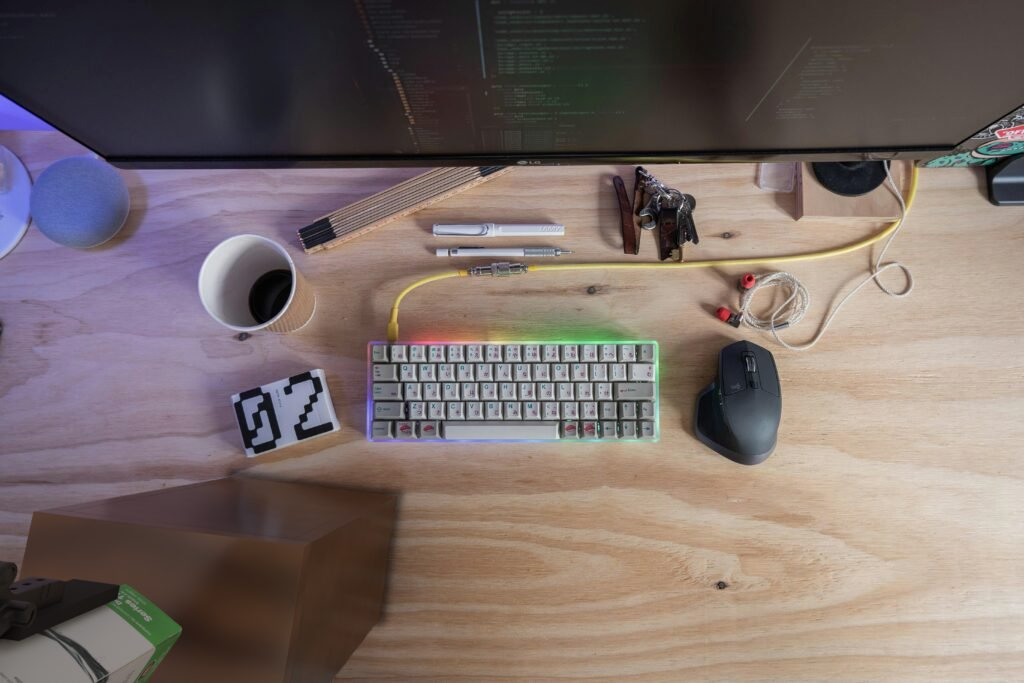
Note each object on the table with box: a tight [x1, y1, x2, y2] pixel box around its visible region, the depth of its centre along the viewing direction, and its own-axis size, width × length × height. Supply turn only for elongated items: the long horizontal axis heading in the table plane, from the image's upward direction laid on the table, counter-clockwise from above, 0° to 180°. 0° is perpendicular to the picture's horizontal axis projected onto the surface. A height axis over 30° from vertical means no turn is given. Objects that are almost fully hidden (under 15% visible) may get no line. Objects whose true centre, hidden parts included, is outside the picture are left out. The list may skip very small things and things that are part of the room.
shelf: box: [18, 508, 312, 683], centre depth 43 cm, size 14×20×2 cm
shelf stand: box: [50, 475, 397, 683], centre depth 57 cm, size 14×20×28 cm
